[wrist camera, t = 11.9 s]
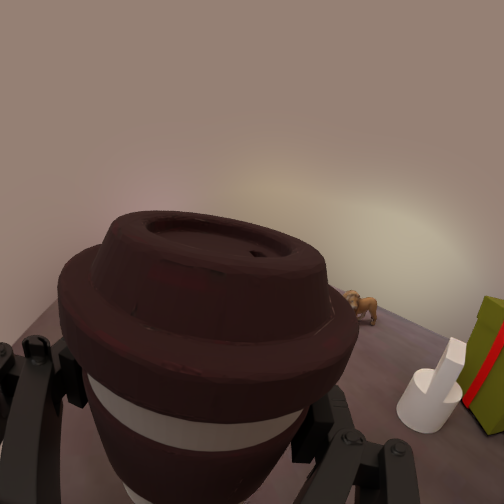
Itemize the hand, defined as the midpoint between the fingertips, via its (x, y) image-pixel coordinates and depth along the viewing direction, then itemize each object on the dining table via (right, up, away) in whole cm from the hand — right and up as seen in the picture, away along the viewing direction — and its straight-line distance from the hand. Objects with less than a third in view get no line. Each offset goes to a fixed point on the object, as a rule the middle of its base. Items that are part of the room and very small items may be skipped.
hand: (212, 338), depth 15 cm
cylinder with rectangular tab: (+28, -20, +18) cm, 39 cm away
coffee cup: (-2, -9, -2) cm, 10 cm away
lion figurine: (+26, -13, +49) cm, 56 cm away
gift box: (+47, -24, +19) cm, 57 cm away
